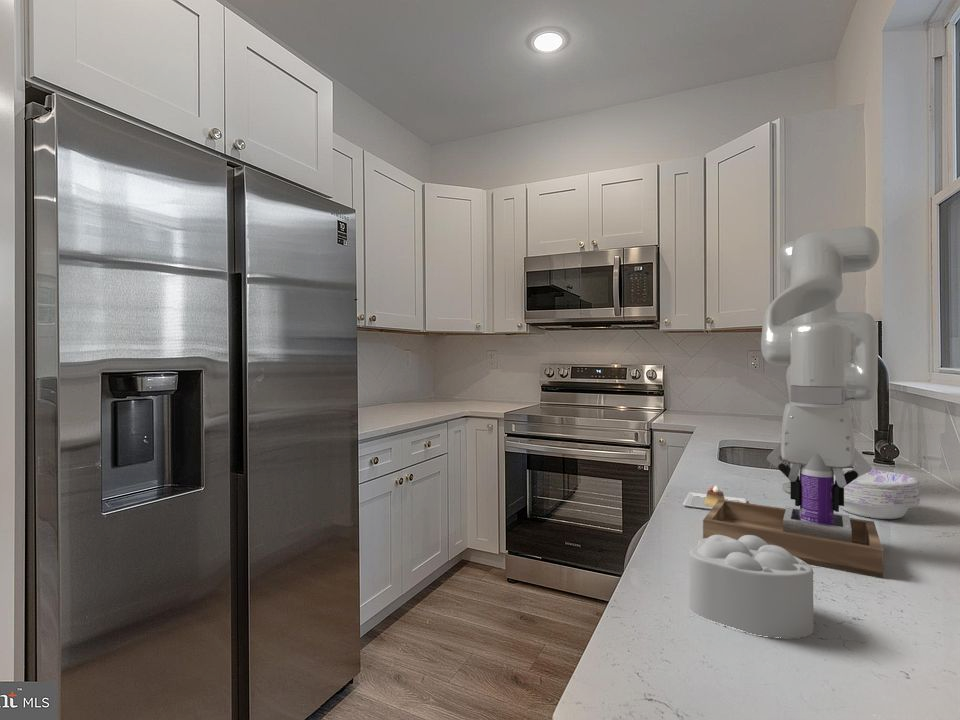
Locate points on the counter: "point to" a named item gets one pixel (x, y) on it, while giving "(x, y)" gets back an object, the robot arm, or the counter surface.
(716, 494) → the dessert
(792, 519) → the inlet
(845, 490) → the paper bowls
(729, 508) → the walled tray
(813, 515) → the container
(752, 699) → the counter surface
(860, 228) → the robot arm
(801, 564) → the lumpy-topped squat cylinder
